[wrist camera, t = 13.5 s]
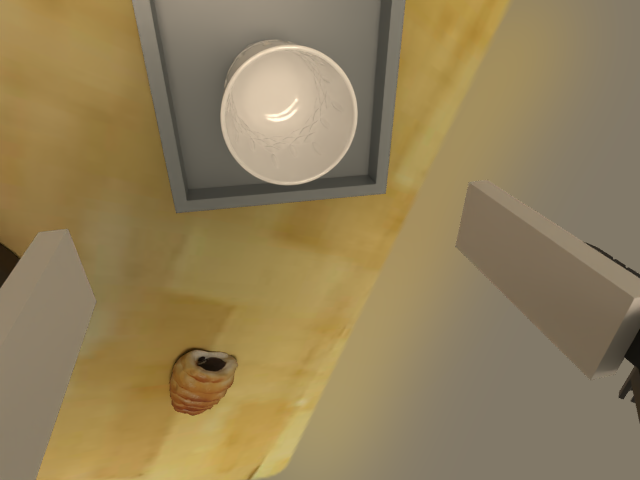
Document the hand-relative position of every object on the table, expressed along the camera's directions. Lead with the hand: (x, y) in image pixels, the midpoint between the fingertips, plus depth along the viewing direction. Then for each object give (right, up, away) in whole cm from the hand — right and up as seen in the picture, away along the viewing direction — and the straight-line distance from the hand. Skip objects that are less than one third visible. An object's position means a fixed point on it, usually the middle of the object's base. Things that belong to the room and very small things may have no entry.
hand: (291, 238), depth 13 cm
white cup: (-3, +12, +18) cm, 21 cm away
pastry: (-13, -15, +33) cm, 39 cm away
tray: (-2, +12, +18) cm, 22 cm away
